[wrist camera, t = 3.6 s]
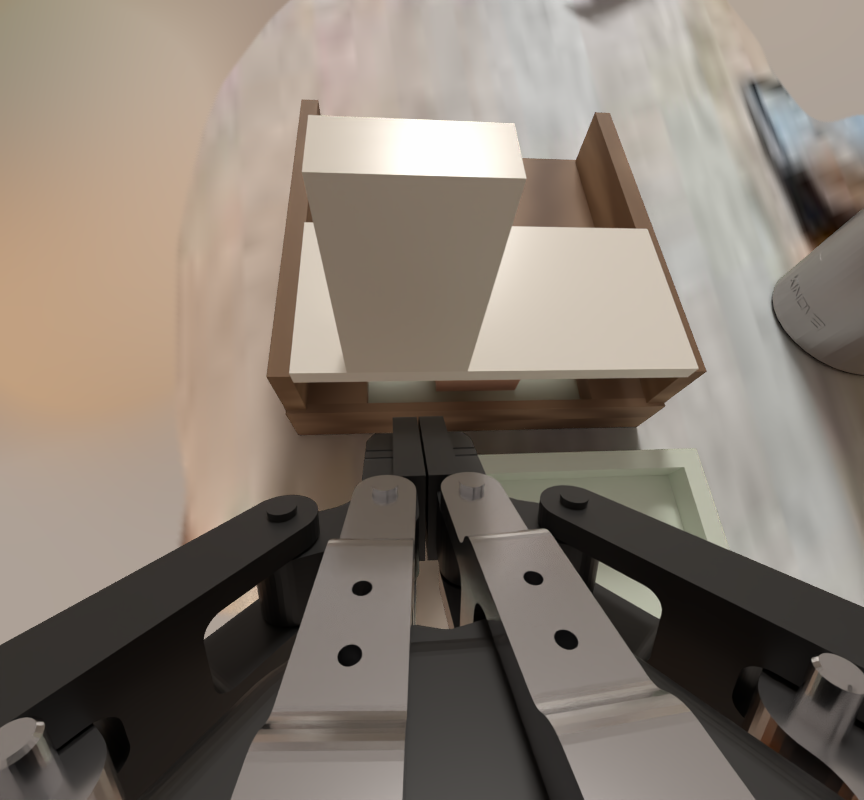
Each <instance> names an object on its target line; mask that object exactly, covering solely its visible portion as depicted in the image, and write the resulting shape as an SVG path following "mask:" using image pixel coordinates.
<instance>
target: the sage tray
mask: <svg viewBox="0 0 864 800" xmlns="http://www.w3.org/2000/svg"><path fill="white" fill-rule="evenodd" d="M477 456H478V457H479V459H480V461H481V464H482V466H483V469H484V471H485V473H486V475H488V476H490V477H492V478H494V479H496V480H497V481H498V482H499V483H500V484H501V486H502V487H503V489H504V491H505V492H506V494H507V496H508V497H510V498H514V499H517V500H523V501H529V502H536V503H539V502H540V495H541V493H542V492H543V491H544V490H545V489H547V488H549V487H552V486H558V485H569V486H576V487H580V488H584V489H586V490H589V491H591V492H594V493H596V494H599V495H601V496H603V497H606V498H608V499H610V500H613V501H615V502H617V503H620V504H622V505H624V506H627V507H629V508H631V509H634V510H636V511H638V512H641V513H643V514H646V515H648V516H650V517H653V518H655V519H657V520H660V521H662V522H664V523H667V524H669V525H671V526H674V527H676V528H678V529H681V530H683V531H685V532H688V533H690V534H693V535H695V536H697V537H700V538H702V539H704V540H707V541H709V542H711V543H714V544H716V545H718V546H721V547H723V548H725V549H728V550H730V549H729V546H728V543H727V540H726V537H725V534H724V531H723V528H722V525H721V522H720V519H719V516H718V513H717V510H716V507H715V504H714V501H713V498H712V495H711V492H710V489H709V486H708V483H707V480H706V477H705V474H704V471H703V468H702V465H701V462H700V459H699V456H698V453H697V450H696V448H692V449H658V450H624V451H591V452H557V453H523V454H489V455H477ZM595 582H596V583H598V584H599V585H601V586H603V587H604V588H606V589H608V590H610V591H611V592H613V593H615V594H617V595H618V596H620V597H622V598H624V599H625V600H627V601H629V602H630V603H632V604H634V605H636V606H637V607H639V608H641V609H643V610H644V611H646V612H648V613H650V614H651V615H653V616H655V617H657V618H659V619H660V617H661V613H662V607H661V604H660V601H659V600H658V598H657V596H656V595H655V594H654V593H653V592H652V591H651V590H650V589H649V588H647V587H646V586H644V585H642V584H640V583H639V582H637V581H635V580H633V579H631V578H629V577H627V576H626V575H624V574H622V573H620V572H618V571H616V570H614V569H613V568H611V567H609V566H607V565H605V564H603V563H601V562H600V561H599V564H598V570H597V576H596V581H595Z"/></svg>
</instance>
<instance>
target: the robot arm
mask: <svg viewBox="0 0 864 800" xmlns="http://www.w3.org/2000/svg"><path fill="white" fill-rule="evenodd" d="M772 298H773V306H774V310H775V313H776V315H777V318H778V320H779V322H780V323H781V325H782V326H783V328H784V330H785V331H786V332H787V333H788V335H789V336H790V337H791V338H792V339H793V340H794V341H795V342H796V343H797V344H798V345H799V346H800V347H801V348H802V349H804V350H805V351H806V352H807V353H809V354H810V355H812V356H813V357H815V358H816V359H818V360H819V361H821V362H823V363H825V364H827V365H829V366H831V367H833V368H836V369H839V370H842V371H845V372H848V373H854V374H860V375H864V208H863V209H862V210H861V211H860V212H858V213H857V214H856V215H855V216H854V217H853V218H851V219H850V220H849V221H848V222H847V223H845V224H844V225H843V226H842V227H841V228H839V229H838V230H837V231H836V232H835V233H834V234H832V235H831V236H830V237H829V238H827V239H826V240H825V241H824V242H823V243H822V244H820V245H819V246H818V247H817V248H816V249H814V250H813V251H812V252H811V253H810V254H809V255H807V256H806V257H805V258H804V259H803V260H802V261H800V262H799V263H798V264H797V265H796V266H795V267H793V268H792V269H791V270H790V271H789V272H787V273H786V274H785V275H784V276H783V277H782V278H781V279H779V280H778V282H777V284H776V285H775V287H774V291H773V297H772ZM425 541H426V549H427V557H428V560H438V562H439V589H440V593H441V597H442V602H443V606H444V610H445V614H446V618H447V622H448V626H449V629H438V628H432V627H425V626H419V625H415V623H416V579H417V577H418V574H419V561H425ZM599 561H600V562H601V563H603V564H605V565H607V566H609V567H611V568H613V569H614V570H616V571H618V572H620V573H622V574H624V575H626V576H627V577H629V578H631V579H633V580H635V581H637V582H639V583H640V584H642V585H644V586H646V587H647V588H649V589H650V590H651V591H652V592H653V593H654V594H655V595H656V596H657V598H658V600H659V601H660V604H661V607H662V613H661V617H660V619H659V618H657V617H655V616H653V615H651V614H650V613H648V612H646V611H644V610H643V609H641V608H639V607H637V606H636V605H634V604H632V603H630V602H629V601H627V600H625V599H624V598H622V597H620V596H618V595H617V594H615V593H613V592H611V591H610V590H608V589H606V588H604V587H603V586H601V585H599V584H598V583H596V582H595V581H596V576H597V570H598V564H599ZM256 585H257V588H258V595H259V599H258V600H256V601H255V602H254V603H252V604H251V605H250V606H248V607H247V608H246V609H244V610H243V611H242V612H240V613H239V614H238V615H236V616H235V617H234V618H232V619H231V620H230V621H228V622H227V623H226V624H224V625H223V626H222V627H220V628H219V629H218V630H216V631H215V632H214V633H212V634H211V635H210V636H208V637H207V638H206V639H204V634H205V631H206V629H207V627H208V625H209V623H210V622H211V620H212V619H213V618H214V617H215V616H216V615H217V614H218V613H219V612H220V611H221V610H223V609H224V608H225V607H227V606H228V605H230V604H231V603H232V602H234V601H235V600H237V599H238V598H239V597H241V596H242V595H244V594H245V593H246V592H248V591H249V590H251V589H252V588H253V587H255V586H256ZM0 800H864V607H862V606H859V605H857V604H855V603H852V602H850V601H848V600H845V599H843V598H841V597H838V596H836V595H833V594H831V593H829V592H826V591H824V590H822V589H819V588H817V587H815V586H812V585H810V584H808V583H805V582H803V581H801V580H798V579H796V578H794V577H791V576H789V575H787V574H784V573H782V572H779V571H777V570H775V569H772V568H770V567H768V566H765V565H763V564H761V563H758V562H756V561H754V560H751V559H749V558H747V557H744V556H742V555H740V554H737V553H735V552H732V551H730V550H728V549H725V548H723V547H721V546H718V545H716V544H714V543H711V542H709V541H707V540H704V539H702V538H700V537H697V536H695V535H693V534H690V533H688V532H685V531H683V530H681V529H678V528H676V527H674V526H671V525H669V524H667V523H664V522H662V521H660V520H657V519H655V518H653V517H650V516H648V515H646V514H643V513H641V512H638V511H636V510H634V509H631V508H629V507H627V506H624V505H622V504H620V503H617V502H615V501H613V500H610V499H608V498H606V497H603V496H601V495H599V494H596V493H594V492H591V491H589V490H586V489H584V488H580V487H576V486H569V485H558V486H552V487H549V488H547V489H545V490H544V491H543V492H542V493H541V495H540V502H539V503H536V502H529V501H523V500H517V499H514V498H510V497H508V496H507V494H506V492H505V491H504V489H503V487H502V486H501V484H500V483H499V482H498V481H497V480H496V479H494V478H492V477H490V476H488V475H486V473H485V471H484V469H483V466H482V464H481V461H480V459H479V457H478V456H477V452H476V450H475V449H474V445H473V442H472V440H471V438H470V437H468V436H467V435H465V434H464V433H463V432H461V431H449V432H448V431H447V428H446V425H445V421H444V418H443V416H420V417H418V422H417V417H393V433H377V434H374V435H373V436H372V437H371V438H370V439H369V440H368V441H367V443H366V452H365V460H364V467H363V475H362V482H360V483H359V484H358V485H357V486H356V487H355V489H354V491H353V494H352V498H351V501H349V502H348V503H346V504H344V505H341V506H339V507H336V508H332V509H328V510H324V511H319V512H318V507H317V504H316V503H315V502H314V501H313V500H312V499H310V498H308V497H305V496H300V495H285V496H279V497H275V498H271V499H269V500H266V501H264V502H262V503H260V504H258V505H256V506H254V507H252V508H251V509H249V510H247V511H245V512H243V513H241V514H240V515H238V516H236V517H234V518H232V519H230V520H229V521H227V522H225V523H223V524H221V525H220V526H218V527H216V528H214V529H212V530H210V531H209V532H207V533H205V534H203V535H201V536H199V537H198V538H196V539H194V540H192V541H190V542H188V543H187V544H185V545H183V546H181V547H179V548H177V549H176V550H174V551H172V552H170V553H168V554H167V555H165V556H163V557H161V558H159V559H157V560H155V561H154V562H152V563H150V564H148V565H146V566H144V567H143V568H141V569H139V570H137V571H135V572H134V573H132V574H130V575H128V576H126V577H124V578H122V579H121V580H119V581H117V582H115V583H113V584H111V585H110V586H108V587H106V588H104V589H102V590H100V591H99V592H97V593H95V594H93V595H91V596H89V597H88V598H86V599H84V600H82V601H80V602H78V603H77V604H75V605H73V606H71V607H69V608H68V609H66V610H64V611H62V612H60V613H58V614H57V615H55V616H53V617H51V618H49V619H47V620H46V621H44V622H42V623H40V624H38V625H36V626H35V627H33V628H31V629H29V630H27V631H25V632H24V633H22V634H20V635H18V636H16V637H14V638H13V639H11V640H9V641H7V642H5V643H3V644H2V645H0Z"/></svg>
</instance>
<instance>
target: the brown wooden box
mask: <svg viewBox="0 0 864 800" xmlns="http://www.w3.org/2000/svg"><path fill="white" fill-rule="evenodd" d="M308 115H320V109H319V103H318V100H302V101H301V109H300V117H299V125H298V133H297V140H296V148H295V156H294V164H293V172H292V180H291V188H290V196H289V203H288V211H287V219H286V227H285V235H284V243H283V251H282V259H281V266H280V274H279V282H278V290H277V298H276V306H275V314H274V322H273V329H272V337H271V345H270V353H269V361H268V369H267V379H268V380H269V382H270V384H271V385H272V387H273V389H274V391H275V392H276V394H277V396H278V397H279V399H280V401H281V402H282V404H283V406H284V408H285V409H286V415H287V417H288V419H289V420H290V422H291V424H292V425H293V427H294V429H295V430H296V432H297V434H298V435H318V434H359V433H393V417H417V422H418V417H420V416H443V418H444V421H445V425H446V428H447V431H483V430H524V429H565V428H606V427H637V426H639V425H640V424H642V423H643V422H644V421H646V420H647V419H648V418H650V417H651V416H653V415H654V414H655V413H657V412H658V411H659V410H661V409H662V408H663V407H665V404H664V403H665V402H666V401H667V400H669V399H670V398H671V397H673V396H674V395H675V394H677V393H678V392H679V391H681V390H682V389H684V388H685V387H686V386H688V385H689V384H690V383H692V382H693V381H694V380H696V379H697V378H698V377H700V376H701V375H702V374H704V373H705V372H706V369H705V366H704V363H703V361H702V358H701V355H700V353H699V350H698V347H697V345H696V342H695V339H694V337H693V334H692V331H691V329H690V326H689V323H688V321H687V318H686V315H685V313H684V310H683V307H682V305H681V302H680V299H679V297H678V294H677V291H676V289H675V286H674V283H673V281H672V278H671V275H670V273H669V270H668V267H667V265H666V262H665V259H664V257H663V254H662V251H661V249H660V246H659V243H658V241H657V238H656V235H655V233H654V230H653V227H652V225H651V222H650V219H649V217H648V214H647V211H646V209H645V206H644V203H643V201H642V198H641V195H640V193H639V190H638V187H637V185H636V182H635V179H634V177H633V174H632V171H631V169H630V166H629V163H628V161H627V158H626V155H625V153H624V150H623V147H622V145H621V142H620V139H619V137H618V134H617V131H616V129H615V126H614V123H613V121H612V118H611V115H610V113H596V112H595V114H594V117H593V119H592V122H591V124H590V127H589V129H588V132H587V134H586V137H585V139H584V141H583V144H582V146H581V149H580V151H579V154H578V156H577V159H576V160H560V159H530V158H522V160H523V165H524V170H525V174H526V182H525V185H524V188H523V191H522V195H521V198H520V201H519V205H518V208H517V211H516V214H515V218H514V221H513V224H512V226H524V227H576V228H629V229H648V232H649V234H650V237H651V240H652V242H653V245H654V248H655V251H656V253H657V256H658V259H659V262H660V264H661V267H662V270H663V272H664V275H665V278H666V281H667V283H668V286H669V289H670V291H671V294H672V297H673V300H674V302H675V305H676V308H677V311H678V313H679V316H680V319H681V321H682V324H683V327H684V330H685V332H686V335H687V338H688V340H689V343H690V346H691V349H692V351H693V354H694V357H695V360H696V362H697V365H698V368H699V369H698V370H696V371H695V372H694V373H692V374H691V375H690V376H689V377H669V378H595V379H522V380H520V381H519V383H518V385H517V387H516V389H515V390H500V391H437V392H436V383H435V381H375V382H302V383H293V381H292V379H291V376H290V374H289V369H290V359H291V350H292V340H293V330H294V320H295V310H296V300H297V291H298V281H299V271H300V261H301V251H302V241H303V232H304V222H313V220H312V215H311V211H310V206H309V202H308V197H307V193H306V188H305V184H304V180H303V175H302V166H303V157H304V148H305V139H306V130H307V122H308Z"/></svg>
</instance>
